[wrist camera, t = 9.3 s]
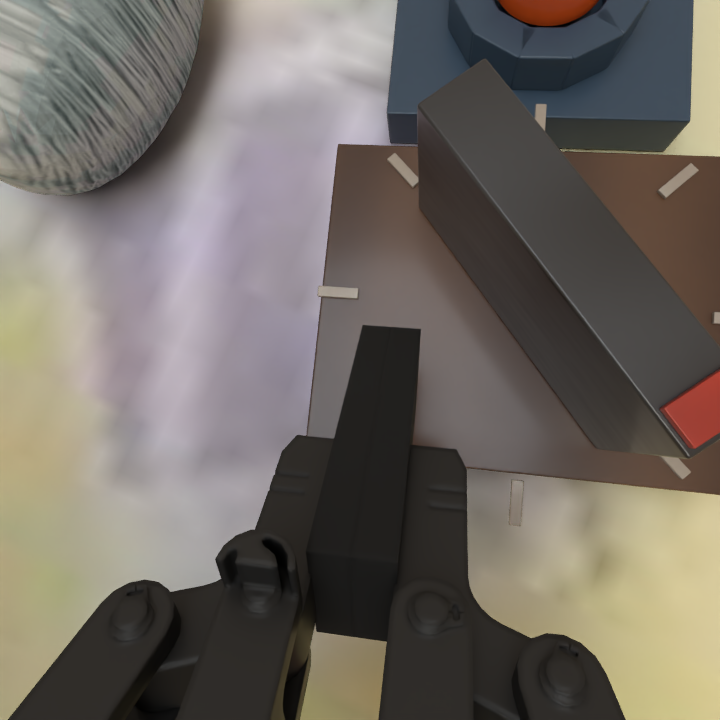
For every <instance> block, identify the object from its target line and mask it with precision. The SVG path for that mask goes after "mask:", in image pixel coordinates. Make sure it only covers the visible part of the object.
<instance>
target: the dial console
mask: <svg viewBox="0 0 720 720" xmlns="http://www.w3.org/2000/svg"><path fill="white" fill-rule="evenodd" d="M546 107H547V104H536V106H535V117H534V118H535V120H536V121H537V122H538V123H539V124H540V126H541V127H542V128H543V129H544V131H545V123H546ZM561 152H562V151H561ZM562 153H563V154H564V155H565V156H566V158H567V159H568V160H569V161H570V163H571V164H572V165H573V166H574V168H575V169H576V170H577V171H578V172H579V174H580V175H581V176H582V177H583V179H584V180H585V181H586V182H587V184H588V185H589V186H590V187H591V189H592V190H593V191H594V192H595V193H596V195H597V196H598V197H599V198H600V200H601V201H602V202H603V203H604V205H605V206H606V207H607V208H608V209H609V211H610V212H611V213H612V214H613V216H614V217H615V218H616V219H617V221H618V222H619V223H620V224H621V225H622V227H623V228H624V229H625V230H626V232H627V233H628V234H629V235H630V237H631V238H632V239H633V240H634V241H635V243H636V244H637V245H638V246H639V248H640V249H641V250H642V251H643V253H644V254H645V255H646V256H647V257H648V259H649V260H650V261H651V262H652V264H653V265H654V266H655V267H656V269H657V270H658V271H659V272H660V273H661V275H662V276H663V277H664V278H665V280H666V281H667V282H668V283H669V285H670V286H671V287H672V288H673V290H674V291H675V292H676V293H677V294H678V296H679V297H680V298H681V299H682V301H683V302H684V303H685V304H686V306H687V307H688V308H689V309H690V310H691V312H692V313H693V314H694V315H695V317H696V318H697V319H698V320H699V322H700V323H701V324H702V325H703V326H704V328H705V329H706V330H707V331H708V333H709V334H710V335H711V336H712V338H713V339H714V340H715V341H716V342H717V344H718V345H719V346H720V157H715V156H684V155H654V154H623V153H593V152H562ZM318 297H321V306H320V315H319V324H318V333H317V343H316V352H315V361H314V370H313V380H312V389H311V398H310V407H309V417H308V426H307V435H306V436H312V437H322V438H333V439H334V437H335V433H336V429H337V425H338V421H339V417H340V413H341V409H342V405H343V401H344V397H345V393H346V389H347V385H348V381H349V377H350V373H351V369H352V365H353V361H354V357H355V353H356V349H357V345H358V341H359V337H360V333H361V330H362V326H363V325H371V326H386V327H400V328H415V329H421V338H420V353H419V368H418V383H417V399H416V412H415V423H414V433H413V444H412V445H419V446H430V447H440V448H451V449H457V451H458V453H459V455H460V457H461V459H462V461H463V463H464V465H465V467H466V468H471V469H480V470H489V471H499V472H508V473H518V474H527V475H536V476H546V477H555V478H565V479H574V480H584V481H593V482H602V483H612V484H621V485H631V486H640V487H649V488H659V489H668V490H678V491H687V492H697V493H706V494H715V495H720V440H718V441H717V442H715V443H714V444H712V445H711V446H709V447H708V448H706V449H705V450H703V451H702V452H700V453H699V454H697V455H696V456H694V457H693V458H691V459H682V458H673V457H664V456H655V455H646V454H637V453H628V452H619V451H610V450H601V449H597V448H596V447H595V446H594V444H593V443H592V442H591V440H590V439H589V438H588V436H587V435H586V434H585V432H584V431H583V429H582V428H581V427H580V425H579V424H578V423H577V421H576V420H575V419H574V417H573V416H572V415H571V413H570V412H569V410H568V409H567V408H566V406H565V405H564V404H563V402H562V401H561V400H560V398H559V397H558V395H557V394H556V393H555V391H554V390H553V389H552V387H551V386H550V385H549V383H548V382H547V381H546V379H545V378H544V376H543V375H542V374H541V372H540V371H539V370H538V368H537V367H536V366H535V364H534V363H533V362H532V360H531V359H530V357H529V356H528V355H527V353H526V352H525V351H524V349H523V348H522V347H521V345H520V344H519V342H518V341H517V340H516V338H515V337H514V336H513V334H512V333H511V332H510V330H509V329H508V328H507V326H506V325H505V323H504V322H503V321H502V319H501V318H500V317H499V315H498V314H497V313H496V311H495V310H494V308H493V307H492V306H491V304H490V303H489V302H488V300H487V299H486V298H485V296H484V295H483V294H482V292H481V291H480V289H479V288H478V287H477V285H476V284H475V283H474V281H473V280H472V279H471V277H470V276H469V274H468V273H467V272H466V270H465V269H464V268H463V266H462V265H461V264H460V262H459V261H458V260H457V258H456V257H455V255H454V254H453V253H452V251H451V250H450V249H449V247H448V246H447V245H446V243H445V242H444V240H443V239H442V238H441V236H440V235H439V234H438V232H437V231H436V230H435V228H434V227H433V226H432V224H431V223H430V221H429V220H428V219H427V217H426V216H425V215H424V213H423V212H422V211H421V209H420V208H419V189H418V147H410V146H379V145H349V144H338V149H337V158H336V167H335V176H334V186H333V195H332V204H331V213H330V223H329V232H328V241H327V250H326V260H325V269H324V278H323V286H319V287H318ZM523 484H524V481H522V480H513V479H512V480H511V494H510V510H509V525H515V526H521V517H522V500H523Z"/></svg>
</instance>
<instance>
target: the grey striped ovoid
mask: <svg viewBox="0 0 720 720" xmlns="http://www.w3.org/2000/svg"><path fill="white" fill-rule="evenodd" d="M203 4H204V0H0V180H1V181H3V182H5V183H7V184H10V185H12V186H14V187H17V188H20V189H23V190H26V191H29V192H34V193H39V194H47V195H73V194H78V193H83V192H87V191H90V190H93V189H96V188H99V187H100V186H102V185H104V184H105V183H107V182H109V181H110V180H112V179H114V178H116V177H118V176H120V175H122V174H123V173H124V172H125V171H126V170H127V169H128V168H129V167H130V166H131V165H132V164H133V163H134V162H136V161H137V160H138V159H139V158H140V157H141V156H142V155H143V153H144V152H145V151H146V150H147V149H148V148H149V146H150V145H151V144H152V143H153V142H154V140H155V139H156V138H157V136H158V135H159V134H160V133H161V131H162V129H163V127H164V126H165V124H166V122H167V121H168V119H169V117H170V115H171V114H172V112H173V110H174V109H175V107H176V106H177V104H178V103H179V100H180V98H181V96H182V93H183V91H184V88H185V86H186V83H187V81H188V78H189V74H190V71H191V67H192V64H193V60H194V57H195V54H196V51H197V46H198V41H199V32H200V26H201V21H202V13H203Z"/></svg>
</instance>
